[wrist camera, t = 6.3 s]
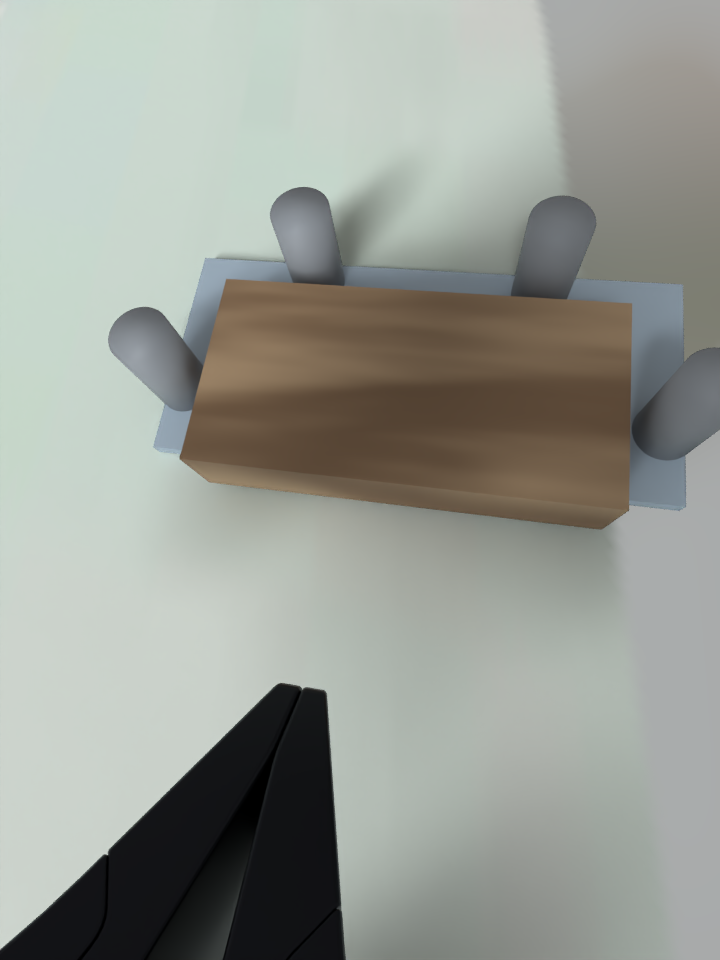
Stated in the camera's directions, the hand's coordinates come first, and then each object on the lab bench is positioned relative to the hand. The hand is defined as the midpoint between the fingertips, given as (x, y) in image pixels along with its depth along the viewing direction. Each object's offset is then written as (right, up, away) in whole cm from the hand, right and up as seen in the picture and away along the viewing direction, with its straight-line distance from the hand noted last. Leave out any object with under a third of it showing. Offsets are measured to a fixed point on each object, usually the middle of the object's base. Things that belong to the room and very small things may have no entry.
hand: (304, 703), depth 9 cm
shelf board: (+2, +3, +12) cm, 12 cm away
